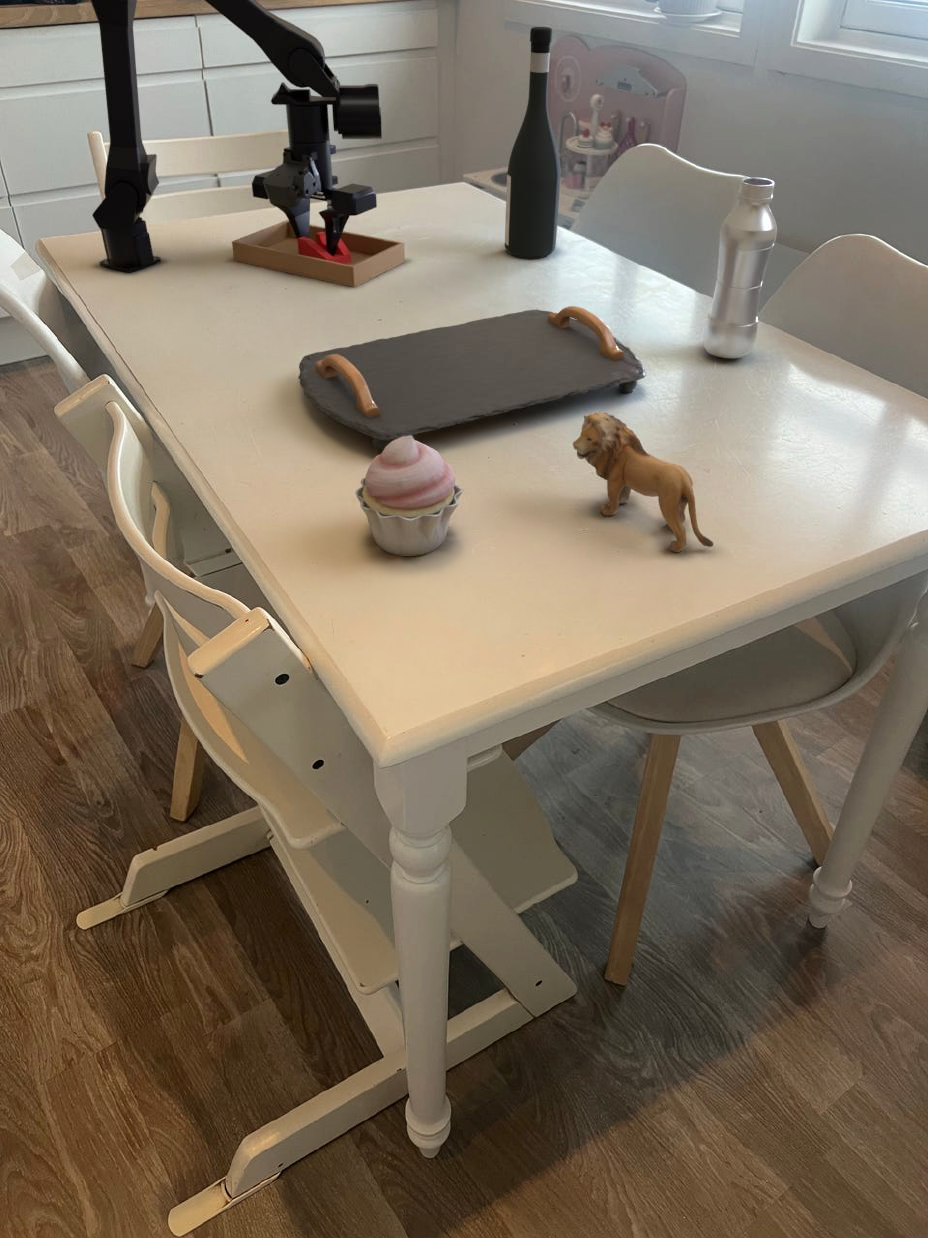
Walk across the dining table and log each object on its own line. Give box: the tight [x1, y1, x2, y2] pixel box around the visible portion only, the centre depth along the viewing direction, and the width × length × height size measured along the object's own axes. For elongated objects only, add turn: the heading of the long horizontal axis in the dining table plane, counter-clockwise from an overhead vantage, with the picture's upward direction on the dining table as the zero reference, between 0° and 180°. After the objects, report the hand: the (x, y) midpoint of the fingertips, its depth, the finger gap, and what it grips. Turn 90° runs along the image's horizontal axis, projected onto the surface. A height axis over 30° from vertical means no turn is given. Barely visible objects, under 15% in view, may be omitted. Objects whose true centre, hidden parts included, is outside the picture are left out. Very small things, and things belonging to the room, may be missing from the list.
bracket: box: [297, 232, 351, 264], centre depth 143 cm, size 6×5×3 cm
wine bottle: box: [504, 26, 562, 259], centre depth 140 cm, size 8×8×30 cm
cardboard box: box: [231, 219, 406, 288], centre depth 144 cm, size 22×13×3 cm, turn 60°
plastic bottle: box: [702, 177, 778, 359], centre depth 112 cm, size 6×7×20 cm
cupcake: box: [354, 435, 465, 557], centre depth 82 cm, size 9×9×10 cm
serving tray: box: [298, 305, 647, 455], centre depth 108 cm, size 39×23×6 cm, turn 119°
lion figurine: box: [572, 411, 714, 553], centre depth 85 cm, size 15×5×9 cm, turn 50°
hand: (317, 252), depth 144 cm, fingers closed on bracket, 4 cm apart
